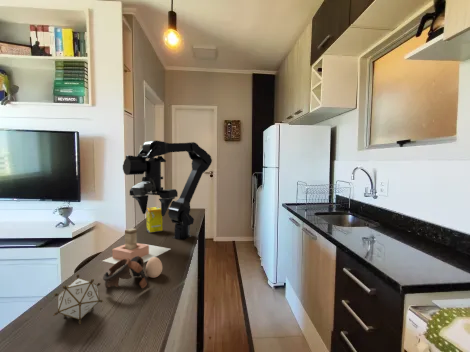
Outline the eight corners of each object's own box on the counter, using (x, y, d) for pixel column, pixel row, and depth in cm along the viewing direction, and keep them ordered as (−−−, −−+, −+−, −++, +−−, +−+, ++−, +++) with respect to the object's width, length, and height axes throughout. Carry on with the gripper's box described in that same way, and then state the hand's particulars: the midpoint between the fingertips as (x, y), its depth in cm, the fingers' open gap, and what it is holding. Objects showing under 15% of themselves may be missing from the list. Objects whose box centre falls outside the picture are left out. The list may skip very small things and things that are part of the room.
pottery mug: (142, 298, 59) (123, 273, 57) (111, 311, 60) (90, 287, 58) (159, 265, 70) (143, 243, 68) (132, 277, 72) (115, 255, 70)
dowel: (131, 253, 84) (130, 228, 84) (137, 255, 83) (136, 229, 83) (125, 256, 82) (124, 230, 81) (130, 257, 81) (130, 230, 80)
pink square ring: (131, 250, 88) (131, 241, 88) (148, 253, 85) (148, 245, 84) (112, 258, 80) (112, 249, 80) (130, 262, 77) (130, 252, 77)
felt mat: (143, 245, 95) (143, 243, 95) (171, 250, 89) (171, 248, 89) (102, 262, 78) (102, 260, 78) (132, 269, 73) (132, 268, 73)
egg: (142, 280, 67) (142, 260, 66) (150, 273, 71) (150, 254, 71) (158, 281, 66) (157, 261, 66) (165, 274, 70) (164, 255, 70)
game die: (75, 330, 52) (73, 282, 57) (113, 314, 53) (108, 268, 57) (40, 336, 44) (41, 279, 49) (86, 317, 45) (83, 263, 49)
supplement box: (146, 231, 114) (145, 207, 113) (159, 229, 117) (158, 206, 116) (149, 234, 109) (149, 210, 108) (162, 232, 112) (162, 208, 111)
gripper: (117, 174, 89) (118, 216, 89) (157, 175, 81) (158, 222, 82) (140, 173, 99) (140, 211, 100) (178, 174, 91) (178, 215, 92)
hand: (153, 214), depth 93 cm, fingers open, 9 cm apart
